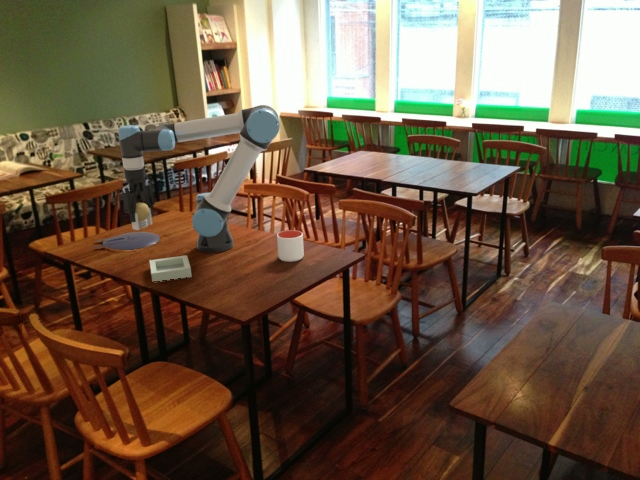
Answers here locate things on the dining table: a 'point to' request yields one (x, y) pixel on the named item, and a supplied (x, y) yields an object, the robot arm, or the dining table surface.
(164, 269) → the tray
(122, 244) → the toy spaceship
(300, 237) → the cup
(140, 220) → the light bulb
